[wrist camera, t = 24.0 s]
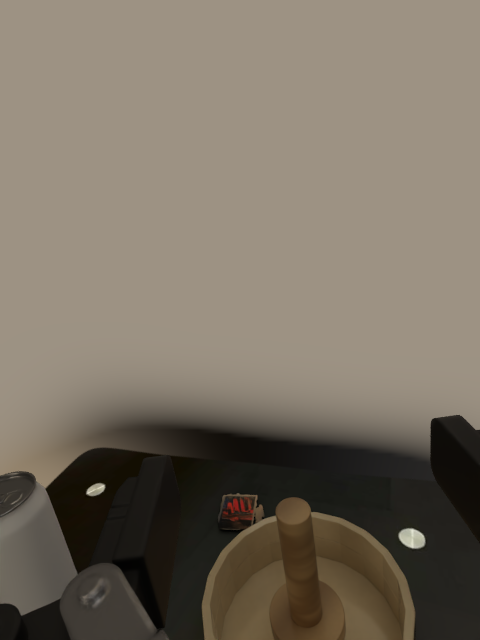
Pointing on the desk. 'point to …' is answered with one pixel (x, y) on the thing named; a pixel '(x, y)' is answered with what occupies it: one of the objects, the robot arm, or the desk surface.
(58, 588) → the can
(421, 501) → the desk surface
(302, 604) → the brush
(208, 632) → the bowl
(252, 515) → the small printed card
